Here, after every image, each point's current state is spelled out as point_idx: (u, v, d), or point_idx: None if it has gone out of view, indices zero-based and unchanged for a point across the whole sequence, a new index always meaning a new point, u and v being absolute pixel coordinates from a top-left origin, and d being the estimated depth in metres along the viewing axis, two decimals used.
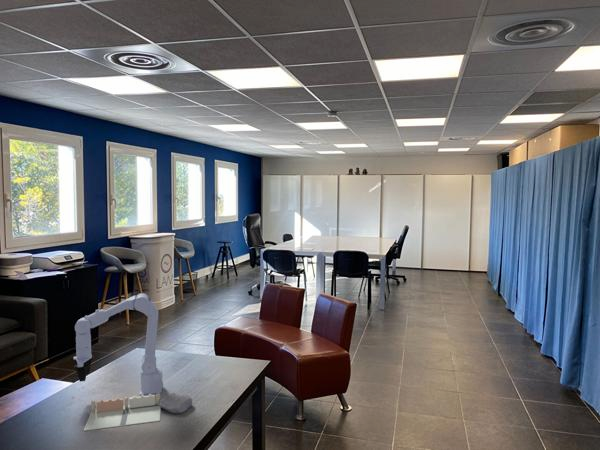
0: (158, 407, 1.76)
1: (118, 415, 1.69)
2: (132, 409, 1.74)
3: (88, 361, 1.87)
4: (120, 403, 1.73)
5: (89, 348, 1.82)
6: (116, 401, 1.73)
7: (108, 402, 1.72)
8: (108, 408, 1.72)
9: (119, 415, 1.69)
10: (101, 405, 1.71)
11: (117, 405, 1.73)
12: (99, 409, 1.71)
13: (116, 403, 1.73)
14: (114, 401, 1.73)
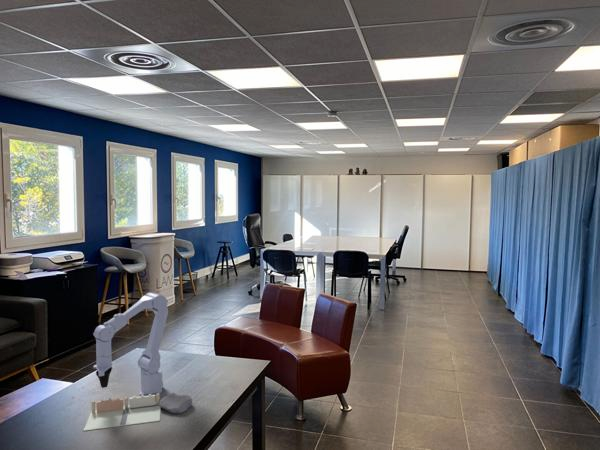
0: (158, 407, 1.76)
1: (118, 415, 1.69)
2: (132, 409, 1.74)
3: None
4: (120, 403, 1.73)
5: (110, 356, 1.76)
6: (116, 401, 1.73)
7: (108, 402, 1.72)
8: (108, 408, 1.72)
9: (119, 415, 1.69)
10: (101, 405, 1.71)
11: (117, 405, 1.73)
12: (99, 409, 1.71)
13: (116, 403, 1.73)
14: (114, 401, 1.73)
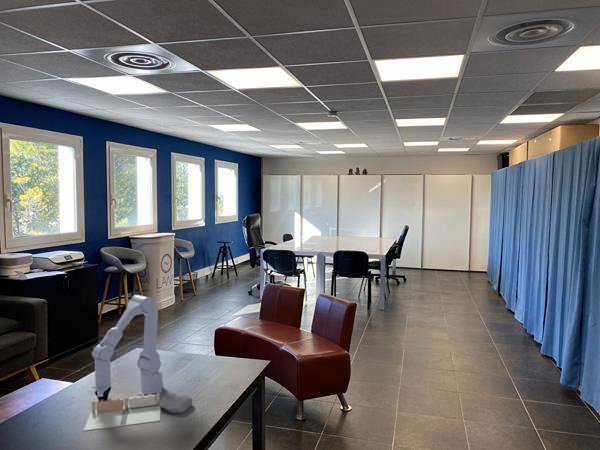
0: (158, 407, 1.76)
1: (118, 415, 1.69)
2: (132, 409, 1.74)
3: None
4: (120, 403, 1.73)
5: (109, 376, 1.73)
6: (116, 401, 1.73)
7: (108, 402, 1.72)
8: (108, 408, 1.72)
9: (119, 415, 1.69)
10: (101, 405, 1.71)
11: (117, 405, 1.73)
12: (99, 409, 1.71)
13: (116, 403, 1.73)
14: (114, 401, 1.73)
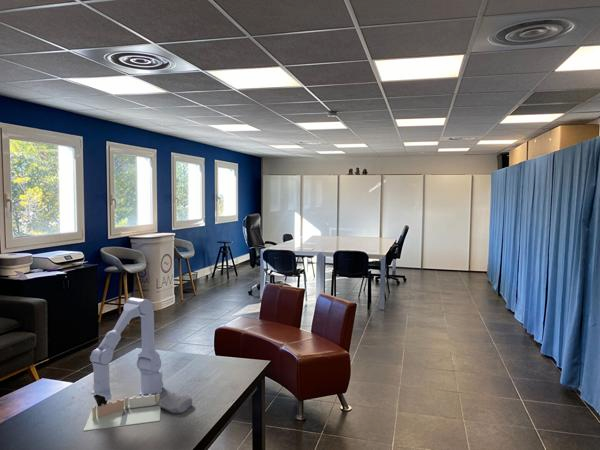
0: (158, 407, 1.76)
1: (118, 415, 1.69)
2: (132, 409, 1.74)
3: (105, 398, 1.70)
4: (121, 403, 1.73)
5: (109, 379, 1.70)
6: (117, 403, 1.72)
7: (109, 405, 1.70)
8: (109, 411, 1.70)
9: (119, 415, 1.69)
10: (102, 409, 1.68)
11: (118, 407, 1.72)
12: (100, 414, 1.68)
13: (117, 405, 1.72)
14: (115, 403, 1.71)
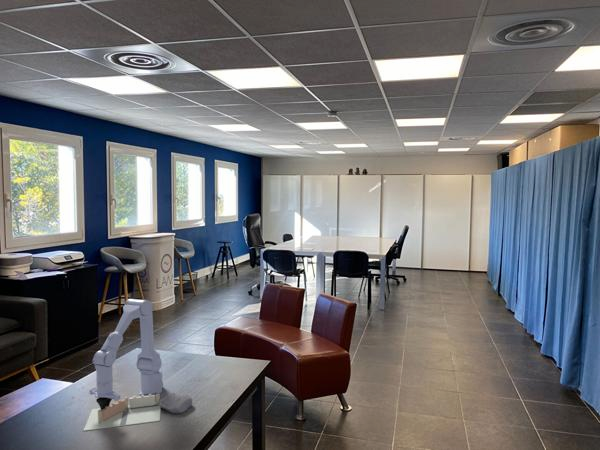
0: (158, 407, 1.76)
1: (118, 415, 1.69)
2: (132, 409, 1.74)
3: (107, 400, 1.68)
4: (122, 404, 1.72)
5: None
6: (119, 403, 1.71)
7: (113, 407, 1.68)
8: (113, 413, 1.68)
9: (119, 415, 1.69)
10: (107, 412, 1.66)
11: (120, 408, 1.71)
12: (106, 416, 1.65)
13: (119, 405, 1.71)
14: (118, 404, 1.70)
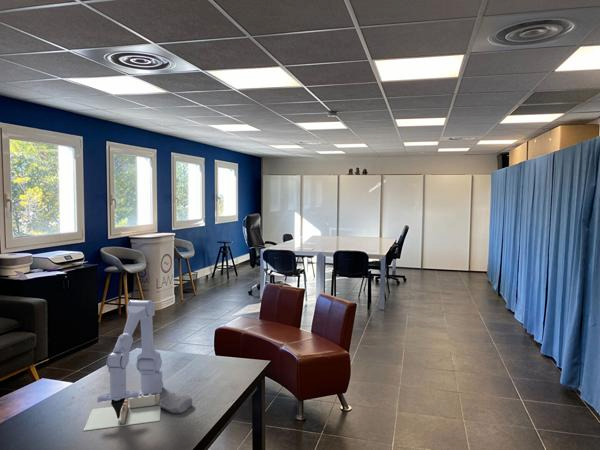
0: (158, 407, 1.76)
1: None
2: (132, 409, 1.74)
3: None
4: None
5: None
6: (126, 403, 1.71)
7: (125, 407, 1.68)
8: (125, 413, 1.68)
9: None
10: (125, 412, 1.66)
11: (126, 407, 1.72)
12: (124, 417, 1.65)
13: (126, 405, 1.71)
14: (126, 404, 1.70)
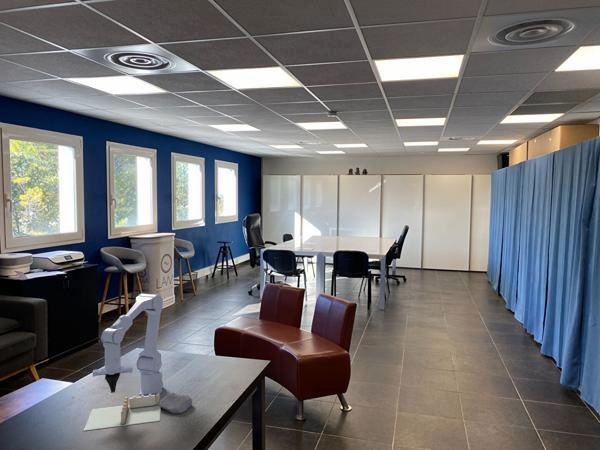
0: (158, 407, 1.76)
1: (118, 415, 1.69)
2: (132, 409, 1.74)
3: (112, 377, 1.71)
4: None
5: None
6: (126, 403, 1.71)
7: (125, 407, 1.68)
8: None
9: (119, 415, 1.69)
10: (125, 412, 1.66)
11: (127, 407, 1.72)
12: (125, 417, 1.65)
13: (126, 405, 1.71)
14: (126, 404, 1.70)
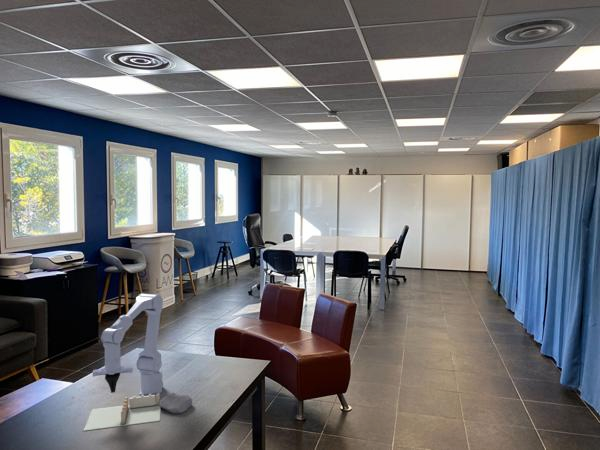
0: (158, 407, 1.76)
1: (118, 415, 1.69)
2: (132, 409, 1.74)
3: (112, 377, 1.71)
4: None
5: None
6: (126, 403, 1.71)
7: (125, 407, 1.68)
8: None
9: (119, 415, 1.69)
10: (125, 412, 1.66)
11: (127, 407, 1.72)
12: (125, 417, 1.65)
13: (126, 405, 1.71)
14: (126, 404, 1.70)
